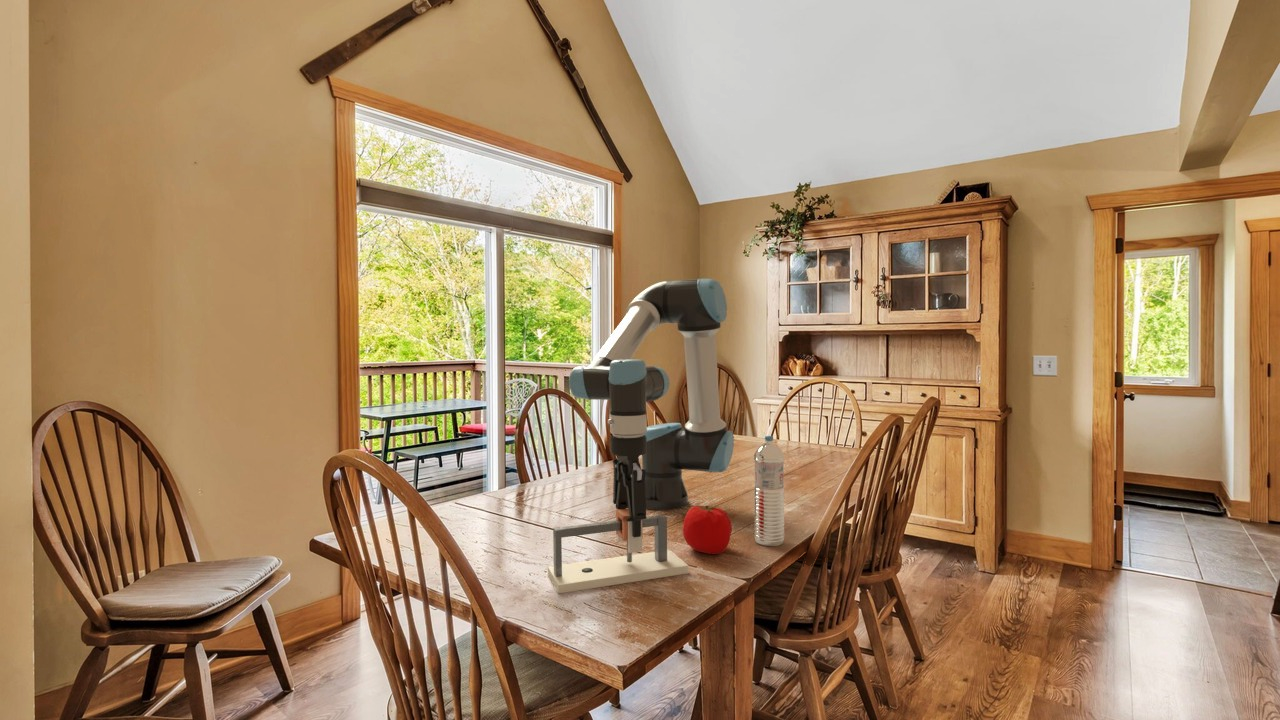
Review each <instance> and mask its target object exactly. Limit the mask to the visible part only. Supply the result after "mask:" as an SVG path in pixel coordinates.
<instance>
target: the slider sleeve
mask: <svg viewBox="0 0 1280 720" xmlns="http://www.w3.org/2000/svg"><path fill="white" fill-rule="evenodd" d="M628 518H630V516H629V508H626V509H619V510H618V509H616V510H615V521H616V520H622V530H619V531H615V532H616V533H615V534H616V535H618V536H619V537H620V538H621V539H622V540H623V541H622V542H626V556H627V562H632V555H633V553H629V552H628V522H627V520H626V519H628ZM642 540H643V530H642Z"/></svg>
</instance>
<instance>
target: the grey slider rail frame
mask: <svg viewBox="0 0 1280 720" xmlns="http://www.w3.org/2000/svg"><path fill="white" fill-rule="evenodd" d="M649 527H654V552H655V559H656V560H657V561H658V562H661V561H667V550H668V517H667V516H665V515H664V514H659V515H658V514H657V515H656V514H655V515H651V516H646V519H643V520H642V529H644V528H649ZM552 529H553V530H552V537H553V540H552V541H553V542H552V543H553V548H552V549H553V566H554V575H555V576H556V577H560V576H562V565H563V559H562V558H563V553H562V551H563V550H562V547H563V546H562V538H569V537H576V536H577V537H578V536H585V535H586V536H587V535H594V534H601V533H603V534H604V533H608V532H610V533H611V532H616V531H619V530H622V520H616V519H615V520H610V521H602V522H601V521H600V522H591V523H584V524H575V525H566V526H565V525H564V526H555V527H552Z"/></svg>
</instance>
